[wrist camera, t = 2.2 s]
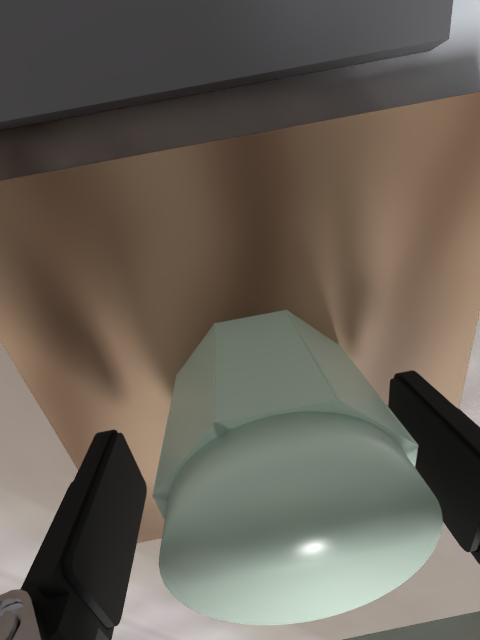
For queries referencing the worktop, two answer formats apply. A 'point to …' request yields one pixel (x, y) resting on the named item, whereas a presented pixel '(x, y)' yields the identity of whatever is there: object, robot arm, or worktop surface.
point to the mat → (189, 47)
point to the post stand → (242, 263)
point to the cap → (285, 480)
